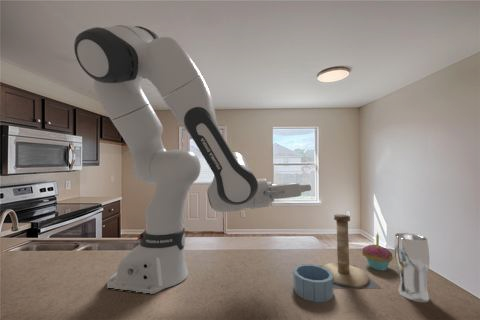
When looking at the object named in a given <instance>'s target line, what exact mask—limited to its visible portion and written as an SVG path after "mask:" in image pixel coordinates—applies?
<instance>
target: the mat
mask: <svg viewBox="0 0 480 320" xmlns="http://www.w3.org/2000/svg"><path fill="white" fill-rule="evenodd" d="M323 265H324V264H323ZM323 265H317V266H323ZM351 266H354V267H357V266H356V265H351ZM337 289H340V290H341V289H342V290H343V289H348V290H349V289H352V290H353V289H354V290H355V289H357V290H359V289H363V290H364V289H365V290H367V289H371V290H373V289H375V290H377V289H379V290H380V289H383V287H382V286H380V285H378V284H377V282H375V281H374V280H373V279H372V278H371V277H369V283H368V284H367V285H366V286H363V287H346V286H341V285H338V284H335V283H334V290H337Z"/></svg>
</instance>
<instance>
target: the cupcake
mask: <svg viewBox="0 0 480 320" xmlns="http://www.w3.org/2000/svg"><path fill="white" fill-rule="evenodd" d="M375 237H376V243H375V244H368V245H366V246H364V247H363V248H362V250H361V251H362V252H361V253H362V256H364V257H365V258H366V260H367V262H368V265H369V267H370V268H372V269H374V270H376V271H387V270H388V267H389V265H390V263H391V262H392V261H393V260H394V257H393V253H392V252H391V251H390V250H389V249H387V248H385V247H383V246H381V245H379V243H380V242H379V241H380V240H379V239H380V236H379V233H378V232H377V233H376V235H375Z"/></svg>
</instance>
